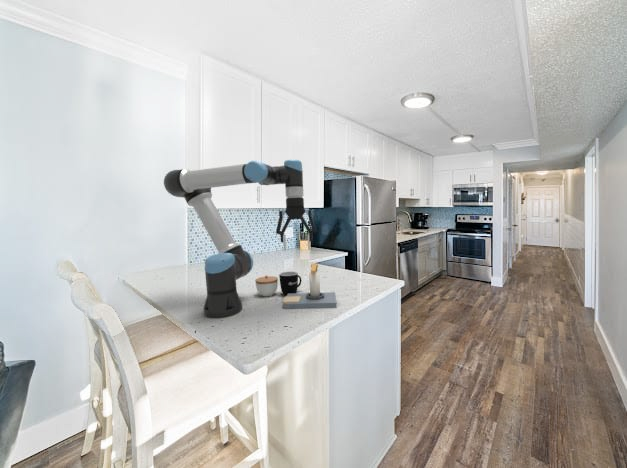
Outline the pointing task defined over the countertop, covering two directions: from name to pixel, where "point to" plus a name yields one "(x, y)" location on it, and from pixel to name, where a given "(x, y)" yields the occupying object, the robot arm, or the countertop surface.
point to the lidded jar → (266, 285)
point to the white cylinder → (314, 284)
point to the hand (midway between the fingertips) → (297, 249)
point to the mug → (289, 282)
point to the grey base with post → (309, 300)
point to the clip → (313, 268)
